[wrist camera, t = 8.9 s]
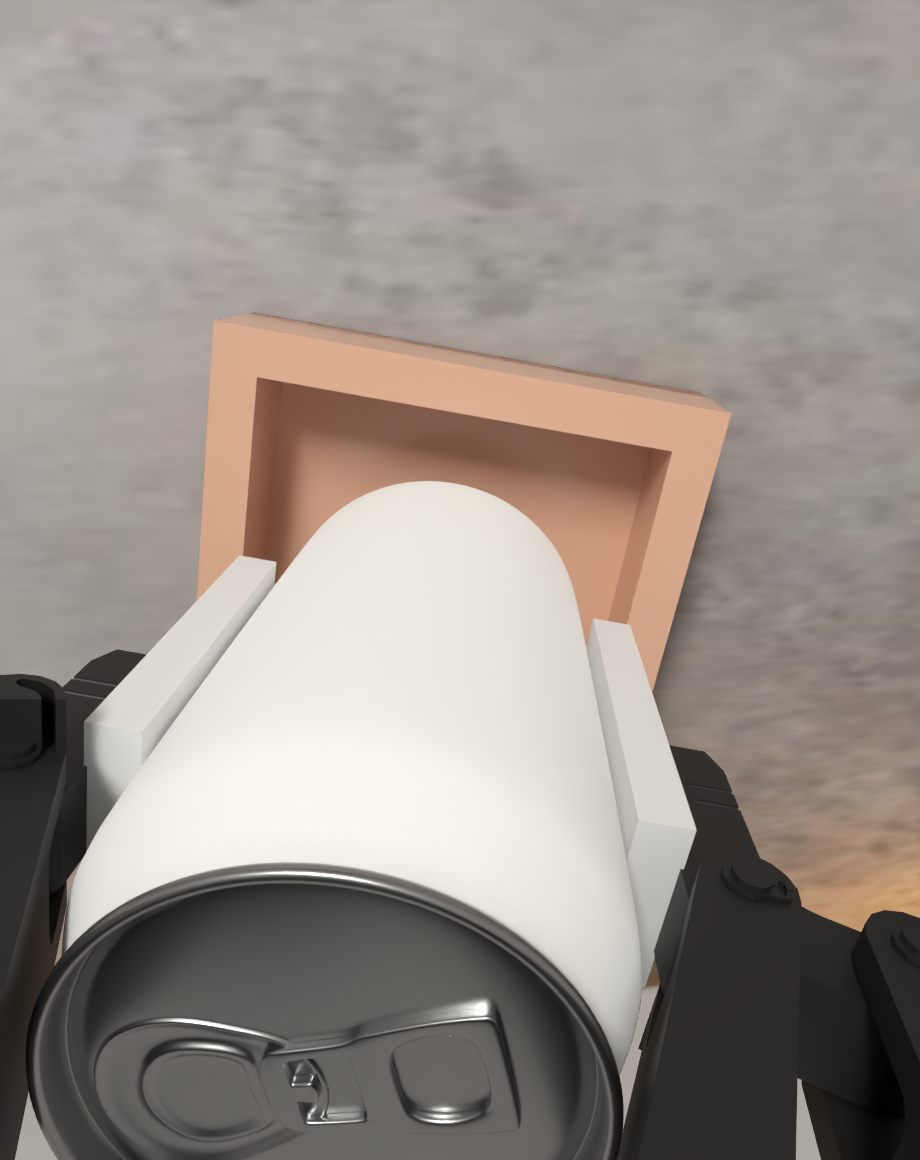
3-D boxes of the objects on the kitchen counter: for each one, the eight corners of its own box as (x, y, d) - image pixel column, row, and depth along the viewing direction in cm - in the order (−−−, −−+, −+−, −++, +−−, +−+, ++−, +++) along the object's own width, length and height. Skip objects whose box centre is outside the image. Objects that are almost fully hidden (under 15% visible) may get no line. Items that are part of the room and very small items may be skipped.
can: (259, 502, 18) (-142, 877, 7) (553, 450, 18) (625, 779, 6) (330, 754, 20) (110, 1347, 9) (595, 718, 20) (705, 1317, 8)
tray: (224, 705, 24) (187, 764, 21) (254, 312, 20) (213, 320, 17) (599, 772, 24) (610, 838, 21) (701, 393, 20) (732, 413, 18)
